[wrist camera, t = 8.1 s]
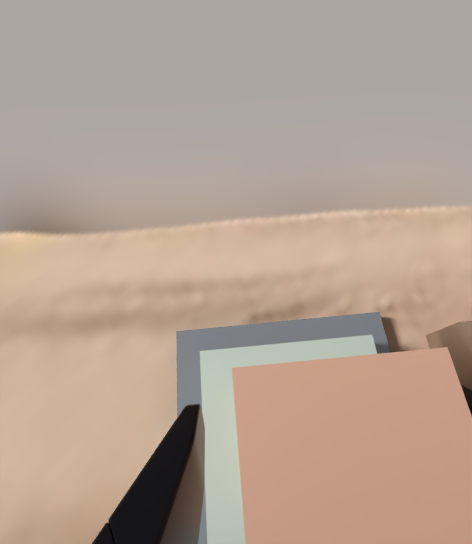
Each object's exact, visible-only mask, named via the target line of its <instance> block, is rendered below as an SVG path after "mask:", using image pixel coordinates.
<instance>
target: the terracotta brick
mask: <svg viewBox="0 0 472 544" xmlns="http://www.w3.org/2000/svg"><path fill="white" fill-rule="evenodd" d="M232 377H233V389H234V402H235V415H236V427H237V440H238V453H239V465H240V478H241V491H242V503H243V516H244V529H245V541H246V544H472V415H471V413H470V410H469V407H468V404H467V401H466V398H465V396H464V393H463V390H462V387H461V384H460V381H459V379H458V376H457V373H456V370H455V367H454V364H453V362H452V359H451V356H450V353H449V350H448V347H443V348H433V349H423V350H412V351H402V352H391V353H381V354H370V355H360V356H350V357H339V358H329V359H318V360H308V361H297V362H287V363H277V364H266V365H256V366H245V367H235V368H232Z"/></svg>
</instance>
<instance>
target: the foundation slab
mask: <svg viewBox="0 0 472 544" xmlns="http://www.w3.org/2000/svg"><path fill="white" fill-rule="evenodd" d="M370 354H377V351H376V347H375V343H374V340H373V336H372V335H363V336H353V337H342V338H332V339H321V340H311V341H300V342H290V343H279V344H269V345H258V346H248V347H237V348H227V349H216V350H206V351H200V370H201V395H202V414H203V419H204V425H205V497H206V522H207V544H246V541H245V529H244V516H243V503H242V491H241V478H240V465H239V453H238V440H237V427H236V415H235V402H234V389H233V377H232V368H235V367H245V366H256V365H266V364H277V363H287V362H297V361H308V360H318V359H329V358H339V357H350V356H360V355H370Z"/></svg>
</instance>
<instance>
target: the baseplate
mask: <svg viewBox="0 0 472 544" xmlns="http://www.w3.org/2000/svg"><path fill="white" fill-rule="evenodd" d="M363 335H372V336H373V340H374V343H375V347H376V351H377V354H381V353H391V352H390V348H389V345H388V341H387V338H386V334H385V330H384V327H383V323H382V320H381V316H380V312H375V313H365V314H354V315H344V316H333V317H323V318H312V319H302V320H291V321H281V322H270V323H260V324H249V325H239V326H228V327H218V328H207V329H197V330H187V331H177V417H178V416H179V415H180V413H181V412H182V410H183V409H184V407H185V406H186V405H190V404H200V405H201V408H202V395H201V370H200V351H206V350H216V349H227V348H237V347H248V346H258V345H269V344H279V343H290V342H300V341H311V340H321V339H332V338H342V337H353V336H363ZM198 544H207V522H206V497H205V472H204V496H203V506H202V514H201V522H200V531H199V539H198Z"/></svg>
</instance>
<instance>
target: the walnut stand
mask: <svg viewBox="0 0 472 544" xmlns="http://www.w3.org/2000/svg"><path fill="white" fill-rule="evenodd" d="M426 337H427V340H428V343H429V346H430V349H433V348H443V347H448V350H449V353H450V356H451V359H452V362H453V364H454V367H455V370H456V373H457V376H458V379H459V381H460V384H461V385H463V386H465V387H467V388H469V389H471V390H472V321H466V322H459V323H456V324H454V325H451V326H449V327H446V328H444V329H441V330H439V331H436V332H433V333H431V334H428V335H426Z"/></svg>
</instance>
